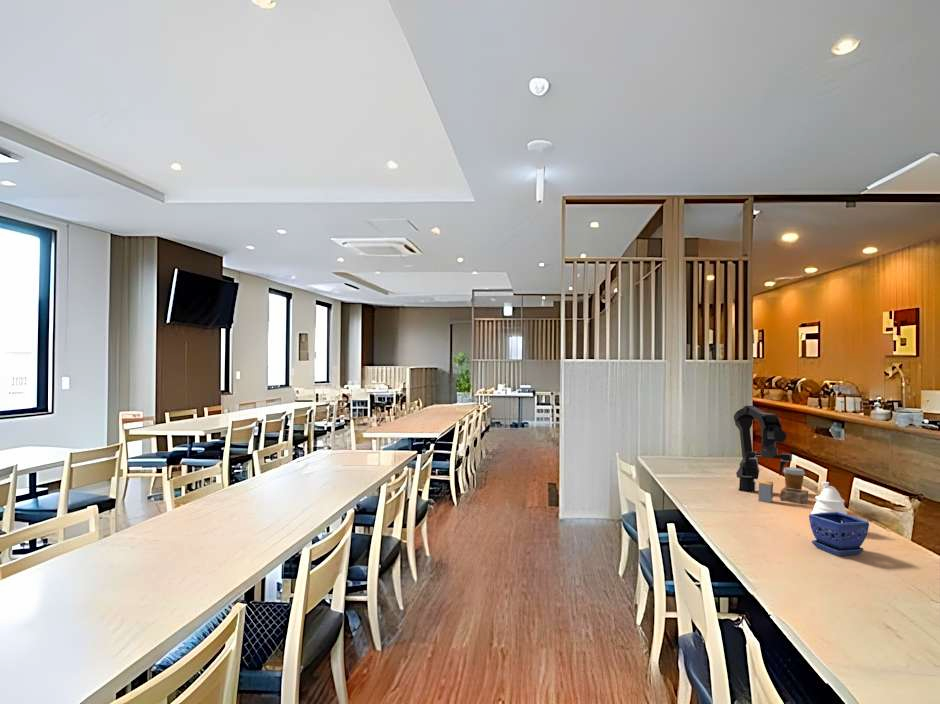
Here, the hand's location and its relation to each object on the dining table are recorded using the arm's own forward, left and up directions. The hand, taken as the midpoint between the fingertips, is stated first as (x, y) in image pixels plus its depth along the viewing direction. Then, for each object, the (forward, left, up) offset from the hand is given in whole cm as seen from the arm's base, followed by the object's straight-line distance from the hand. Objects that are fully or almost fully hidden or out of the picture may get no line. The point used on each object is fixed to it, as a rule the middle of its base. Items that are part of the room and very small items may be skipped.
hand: (768, 474), depth 277 cm
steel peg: (-1, 0, -12) cm, 13 cm away
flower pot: (+34, -60, -13) cm, 70 cm away
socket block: (+9, +12, -12) cm, 19 cm away
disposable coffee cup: (+6, +28, -13) cm, 31 cm away
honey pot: (+28, -29, -13) cm, 42 cm away
